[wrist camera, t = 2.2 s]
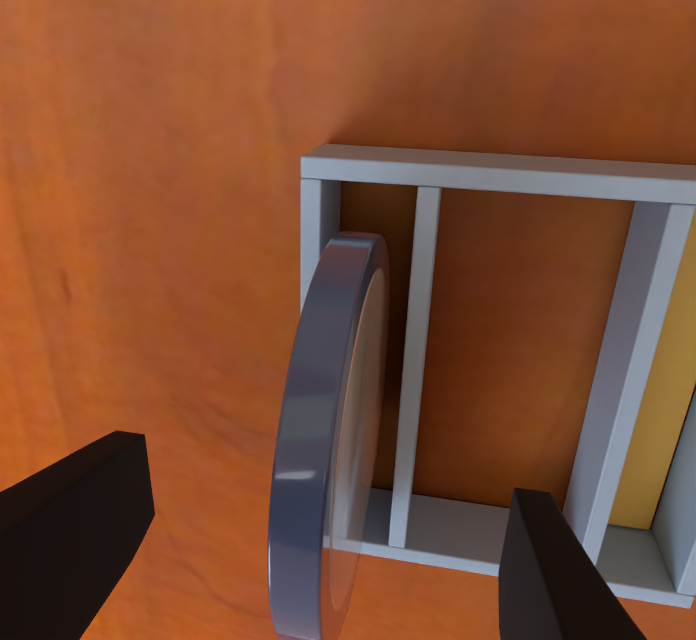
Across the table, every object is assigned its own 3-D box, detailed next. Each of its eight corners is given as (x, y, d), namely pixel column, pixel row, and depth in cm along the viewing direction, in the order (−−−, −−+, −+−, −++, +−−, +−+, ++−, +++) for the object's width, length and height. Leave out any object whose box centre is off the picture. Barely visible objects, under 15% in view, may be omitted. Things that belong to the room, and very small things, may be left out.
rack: (663, 543, 18) (690, 609, 16) (318, 490, 20) (299, 544, 18) (787, 170, 14) (852, 190, 11) (324, 143, 15) (300, 155, 13)
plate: (379, 469, 19) (317, 761, 11) (351, 465, 19) (269, 750, 11) (398, 197, 16) (327, 332, 7) (364, 195, 16) (257, 324, 8)
